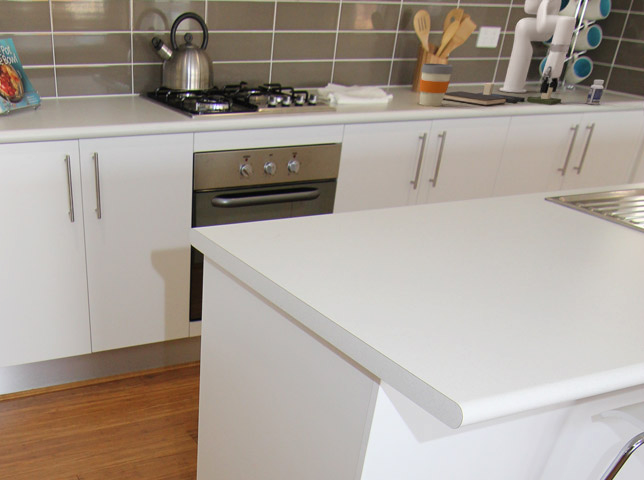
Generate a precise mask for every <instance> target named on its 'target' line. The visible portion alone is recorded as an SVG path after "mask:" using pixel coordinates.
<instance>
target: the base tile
mask: <svg viewBox="0 0 644 480" xmlns="http://www.w3.org/2000/svg"><path fill="white" fill-rule="evenodd" d="M500 95H501V96H504V98H506V102H505V103H507V104H516V103H517V102H518V103H521V102H522V103H523V102H525V99H526V97H523V96H514V95H507V94H500ZM497 97H498V96H497Z"/></svg>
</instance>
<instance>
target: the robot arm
mask: <svg viewBox="0 0 644 480" xmlns="http://www.w3.org/2000/svg"><path fill="white" fill-rule="evenodd" d="M561 5H562V0H525V1H524V7H523V9H524V13H526V14H528V15H536V17H523V18H521V19H520V20H518V22H517V23H516V25H515V28H514V38H513V44H512V49H511V54H510V57H509V61H508V66H507V71H506V75H505V79H504V82H503V86H502V87H499V89H498V90H499V91H500V92H504V93H513V94H514V93H515V94H516V93H517V94H525V93H527V89H525V88H524V87H526V85H527V82H526V81H527V76H528V73H529V69H530V65H531V61H532V58H533V52H534V49H533V46H532V43H531V42H547V41H549V40H550V39H551V38H552V40H551V43H550V48H549V50H548V53H549V54H548V55H547V58H546V61H545V65H544V67H543V72H542V75H541V77H542V81H541V86H540V90H539V93H540V94H542V93H547V92H548V88H549V87H550V88H553V90H552V93H556V92H557V89H558V85H559V82H560V78H561V75H562V72H563V68H564V65H565V60H566V56H567V54H568V53H569V48H570V46H571V42H572V38H573V34H574V30H575V27H576V22H577V18H576V17H574V16H569V15H559V14H560V10H561Z"/></svg>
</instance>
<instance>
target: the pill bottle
mask: <svg viewBox="0 0 644 480" xmlns="http://www.w3.org/2000/svg"><path fill="white" fill-rule="evenodd" d="M604 82H605V80H603V79H594V80H593V84H591V86H590V87H589V90H588V94H587V96H586V97H587V98H586V101H585V104H587V105H596V106H597V105H599V104H600V101H601V98H602V95H603V91H604Z"/></svg>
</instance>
